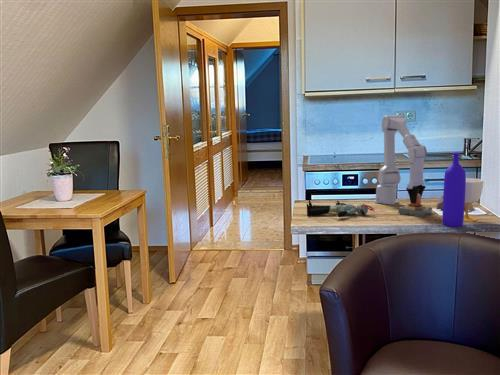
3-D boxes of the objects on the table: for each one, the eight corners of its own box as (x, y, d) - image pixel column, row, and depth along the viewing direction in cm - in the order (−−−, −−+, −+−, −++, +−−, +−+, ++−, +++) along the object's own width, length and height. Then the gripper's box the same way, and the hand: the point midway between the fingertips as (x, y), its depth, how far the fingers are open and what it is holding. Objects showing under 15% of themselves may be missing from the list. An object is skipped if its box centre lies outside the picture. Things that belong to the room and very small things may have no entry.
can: (408, 206, 233) (409, 193, 232) (413, 204, 236) (413, 192, 235) (417, 207, 230) (418, 194, 229) (422, 206, 233) (422, 193, 232)
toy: (310, 195, 250) (373, 193, 244) (311, 210, 251) (374, 209, 245) (304, 206, 226) (374, 203, 219) (305, 223, 227) (375, 221, 220)
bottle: (456, 228, 206) (459, 154, 201) (437, 224, 212) (440, 152, 207) (467, 225, 211) (471, 152, 205) (449, 221, 217) (452, 151, 212)
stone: (473, 221, 241) (471, 203, 246) (477, 209, 233) (475, 191, 238) (435, 219, 245) (434, 202, 250) (437, 208, 237) (436, 190, 242)
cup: (455, 222, 216) (457, 182, 213) (448, 215, 228) (450, 177, 225) (484, 222, 215) (487, 182, 212) (476, 216, 226) (478, 177, 223)
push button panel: (398, 213, 234) (398, 205, 233) (406, 209, 241) (406, 202, 240) (424, 216, 226) (424, 208, 226) (431, 213, 233) (432, 205, 233)
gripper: (418, 175, 222) (417, 205, 225) (431, 171, 233) (430, 200, 236) (403, 174, 227) (402, 204, 229) (416, 170, 238) (415, 198, 240)
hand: (415, 202), depth 233 cm, fingers closed on can, 4 cm apart
